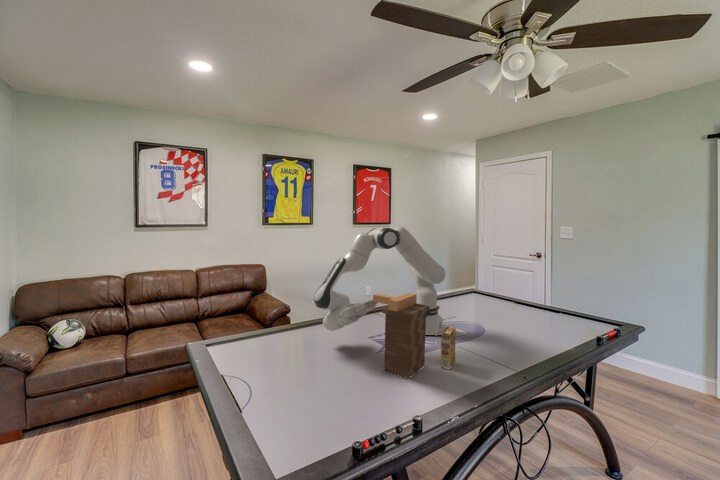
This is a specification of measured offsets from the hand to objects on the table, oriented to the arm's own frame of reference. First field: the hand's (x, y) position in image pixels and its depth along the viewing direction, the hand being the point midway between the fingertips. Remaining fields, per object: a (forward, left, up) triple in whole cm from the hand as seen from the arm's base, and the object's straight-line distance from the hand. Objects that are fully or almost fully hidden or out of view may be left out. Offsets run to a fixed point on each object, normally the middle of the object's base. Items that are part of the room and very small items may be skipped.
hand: (370, 303), depth 148 cm
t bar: (0, +10, +2) cm, 10 cm away
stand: (0, +18, -24) cm, 30 cm away
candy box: (-15, +30, -25) cm, 42 cm away
